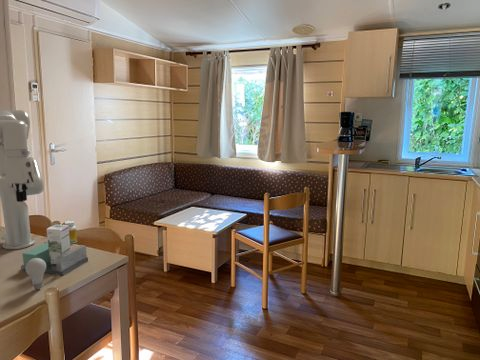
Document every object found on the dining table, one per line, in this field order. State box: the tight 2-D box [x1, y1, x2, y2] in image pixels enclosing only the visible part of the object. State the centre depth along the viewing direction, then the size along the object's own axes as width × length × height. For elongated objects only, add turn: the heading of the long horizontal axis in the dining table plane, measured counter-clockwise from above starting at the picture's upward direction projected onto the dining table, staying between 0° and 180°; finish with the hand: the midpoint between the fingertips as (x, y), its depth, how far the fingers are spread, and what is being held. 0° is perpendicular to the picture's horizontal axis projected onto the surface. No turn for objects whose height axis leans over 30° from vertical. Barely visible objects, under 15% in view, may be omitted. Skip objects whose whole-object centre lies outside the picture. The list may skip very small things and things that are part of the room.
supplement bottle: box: [63, 220, 78, 245], centre depth 167 cm, size 5×5×10 cm
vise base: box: [20, 244, 89, 276], centre depth 143 cm, size 19×14×6 cm
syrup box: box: [46, 224, 72, 265], centre depth 141 cm, size 6×6×14 cm
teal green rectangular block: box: [22, 241, 50, 266], centre depth 144 cm, size 6×14×5 cm, turn 165°
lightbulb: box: [25, 258, 46, 290], centre depth 123 cm, size 6×6×11 cm
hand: (22, 200), depth 142 cm, fingers closed
